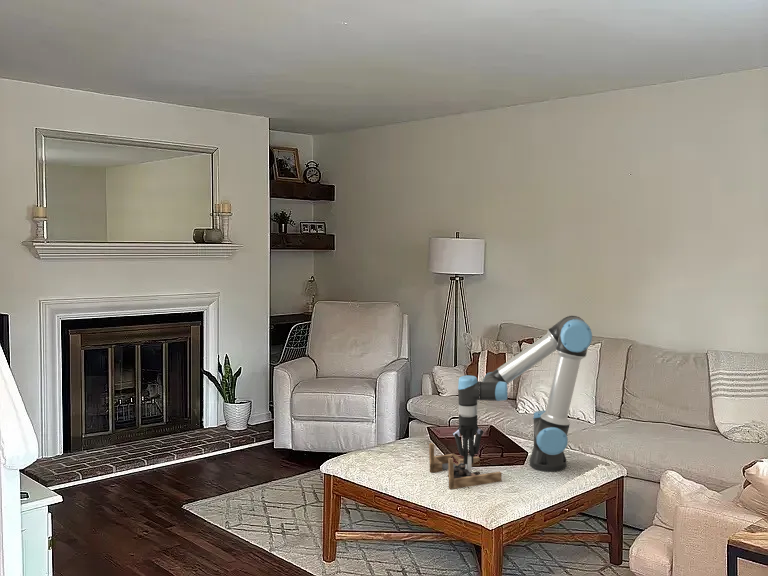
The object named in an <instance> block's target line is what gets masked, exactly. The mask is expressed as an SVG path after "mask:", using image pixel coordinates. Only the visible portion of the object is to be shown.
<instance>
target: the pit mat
mask: <svg viewBox="0 0 768 576" xmlns="http://www.w3.org/2000/svg"><path fill="white" fill-rule="evenodd" d="M453 466H454V467H455V466H456V465H455V464H454V463H453ZM442 471H448V463H445V464H442Z"/></svg>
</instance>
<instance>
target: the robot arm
mask: <svg viewBox="0 0 768 576" xmlns="http://www.w3.org/2000/svg"><path fill="white" fill-rule="evenodd" d="M592 340H593V332H592V329H591V328H590V326H589V324H587V322H585V320H584V319H583V318H581V317H580V316H577V315H567V316H565V317H564V318H562V319H560V320H559V321H557V322H556V323H555V324H554V325H552V326H551V327H550V328H548V329H547V333H546V334H544V335H542V337H540V338H539V339H538V340H536V341H535V342H533V343H532V344H530V345H529V346H527V347H525V348H524V349H523V350H522V351H520V352H519V353H517V354H515V356H513V357H512V358H510V359H509V360H507V361H506V362H505V363H503V364H502V365H500V366H499V367H497V368H496V369H494V370H493V371H491V372H490V371H489V372H487V373H486V374H485V376H484V377H483V379H482V381H478V378H477V377H476V376H475V375H471V374H470V375H467V374H466V375H462V376H460V377H459V378H458V385H457V392H458V393H457V394H458V397H457V398H458V399H457V401H458V414H459V415H458V427H457V430H456V431H453V432H452V435H453V437H454V439H455V443H456V447H457V451H458V454H459V455H460V456H462V457H463V458H462V459H463V461H464V464H465V465H466V468H465V469H467V470H468V471H469V473H470V472H471V473H473V471H472V468H473V467H472V463H473V457H476V456H475V455H477V454H478V453H479V449H480V444H481V440H482V436H483V434H484V433H485V432H484V430H483V429H481V428H479V426H478V401H487V402H488V401H493V402H494V401H496V402H501V401H507V400H508V392H509V391H508V384H510V383H511V382H512V381H514V380H515V379H517V378H518V377H520V376H521V375H522V374H524V373H526V372H527V371H529V369H531V368H533V367H534V366H536V365H537V364H539V363H540V362H541V361H542V360H544V359H546V358H547V357H549V356H550V355H551V354H553V353H554V352H557V354H558V356H557V361H556V365H555V369H554V372H553V373H554V374H553V379H552V383H551V386H550V392H549V396H548V400H547V404H546V408H545V410H537V411H534V412H533V417H532V420H533V448H532V451H531V454H530V457H529V466H530V467H531V468H532V469H534V470H537V471H541V472H561V471H563V470H565V469H566V468H567V467H568V462H567V458H566V455H565V453H564V451H565V450H566V448H567V447H568V443H569V441H568V440H569V439H568V433H569V430H570V424H571V422H570V420H569V419H568V415H569V411H570V406H571V403H572V400H573V399H572V398H573V394H574V390H575V386H576V382H577V378H578V373H579V369H580V366H581V365H580V364H581V361H582V360H583V359H585V358H586V357H587V353H588V349H589V347H590V345H591V343H592ZM460 436H462V437H461V438H462V440H461V438H460Z"/></svg>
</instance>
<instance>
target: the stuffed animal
mask: <svg viewBox="0 0 768 576" xmlns="http://www.w3.org/2000/svg"><path fill="white" fill-rule="evenodd" d="M465 467H466V465H465V464H464V463H460V464H459V465H458V466H455V467H454V479H455V478H461V477H468V476H474V475H480V473H481V472H480V471H474V472H473V471H472V472H470V473H469V471H468V470H467V469H466V468H465ZM447 477H448V478H449V473H448V475H447Z"/></svg>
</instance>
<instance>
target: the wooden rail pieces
mask: <svg viewBox="0 0 768 576" xmlns="http://www.w3.org/2000/svg"><path fill="white" fill-rule="evenodd" d="M428 451H429V452H428V454H429V458H428V459H429V460H428V461H429V473H431V474H434V473H439V472H440V473H441V472H443V470H442V464H445V463H448V470H447V471H448V474H449V477H448V489H449V490H456V489H461V488H469V487H473V486H475V487H476V486H481V485H487V484H493V483H494V484H495V483H499V482H502V472H501V471H495V472H488V473H482V474H478V475H474V476H466V477H461V478H455V479H454V466H453V463H454V462H453V458H451V457H452V456H453V457H454V458H455V459H456V461H457V462H458V464H456V463H454V464H455V465H456V466H458V465H459V464H460V463H464V461H463V458H462V457H460V456H458V455H457V454H456V453H449V454H441V455H435V444H434V443H433V442H431V443H429V444H428ZM478 461H480V457H479V456H474V457H473V463H472V468H473V467H474V468H475V467H479V466H480V467H481V461H480V463H479V464H474V463H476V462H478ZM465 469H466V467H465Z"/></svg>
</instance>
